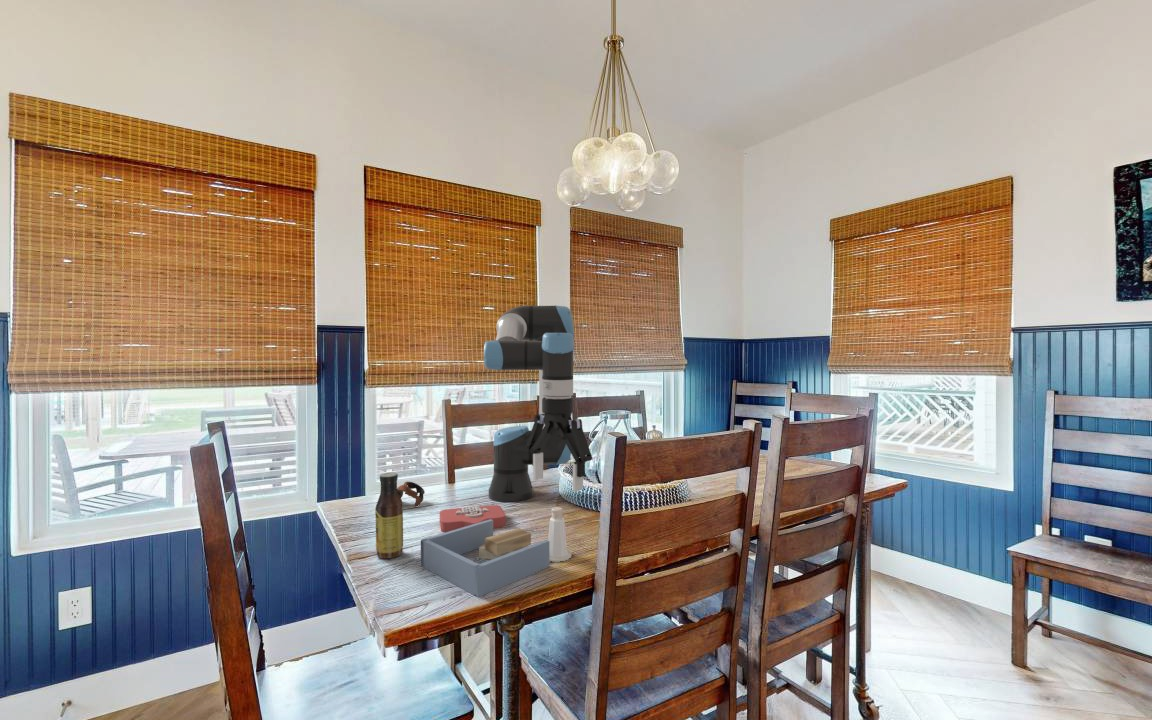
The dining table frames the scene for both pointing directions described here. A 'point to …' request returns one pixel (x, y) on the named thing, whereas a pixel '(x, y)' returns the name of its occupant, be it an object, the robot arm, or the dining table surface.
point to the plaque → (471, 517)
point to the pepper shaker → (557, 534)
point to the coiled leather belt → (411, 491)
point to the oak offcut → (507, 541)
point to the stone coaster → (561, 558)
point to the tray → (477, 578)
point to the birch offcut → (489, 555)
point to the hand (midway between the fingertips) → (557, 484)
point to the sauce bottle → (389, 518)
